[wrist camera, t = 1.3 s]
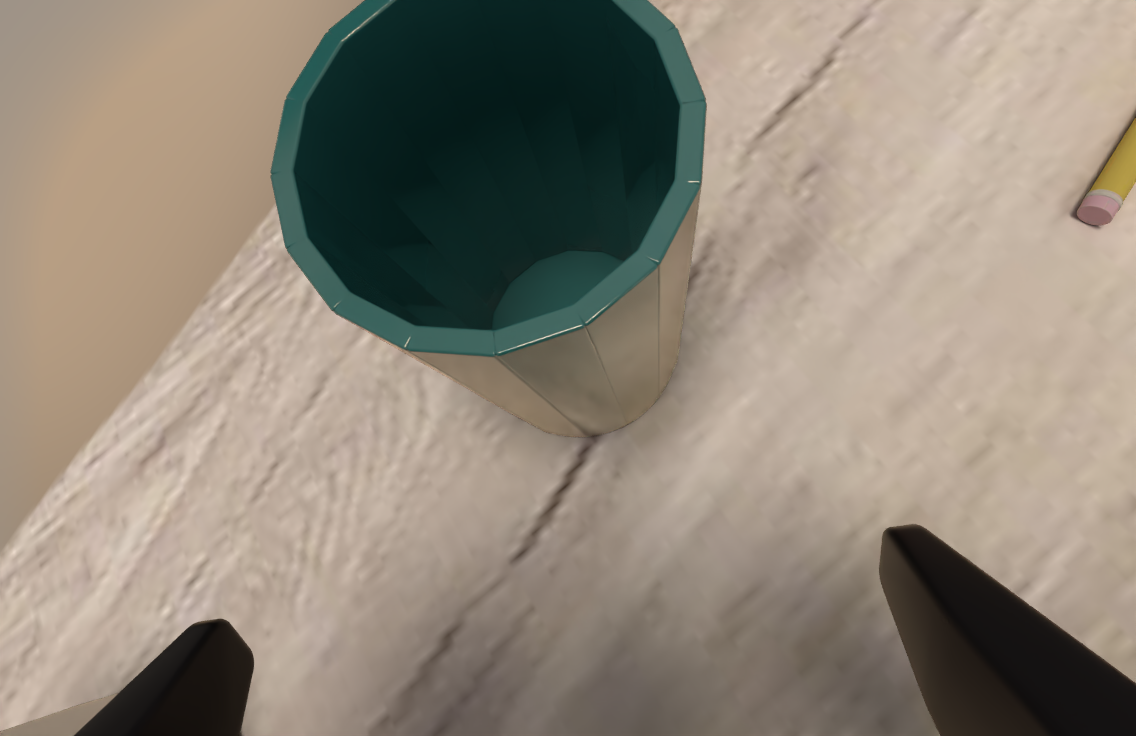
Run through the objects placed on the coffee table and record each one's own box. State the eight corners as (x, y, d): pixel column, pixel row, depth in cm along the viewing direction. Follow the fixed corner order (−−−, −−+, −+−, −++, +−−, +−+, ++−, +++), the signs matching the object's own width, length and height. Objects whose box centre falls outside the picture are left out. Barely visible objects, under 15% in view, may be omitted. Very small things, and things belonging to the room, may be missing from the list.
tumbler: (706, 402, 21) (774, 263, 9) (514, 462, 22) (319, 415, 9) (642, 223, 23) (622, -110, 10) (465, 284, 23) (240, 35, 11)
